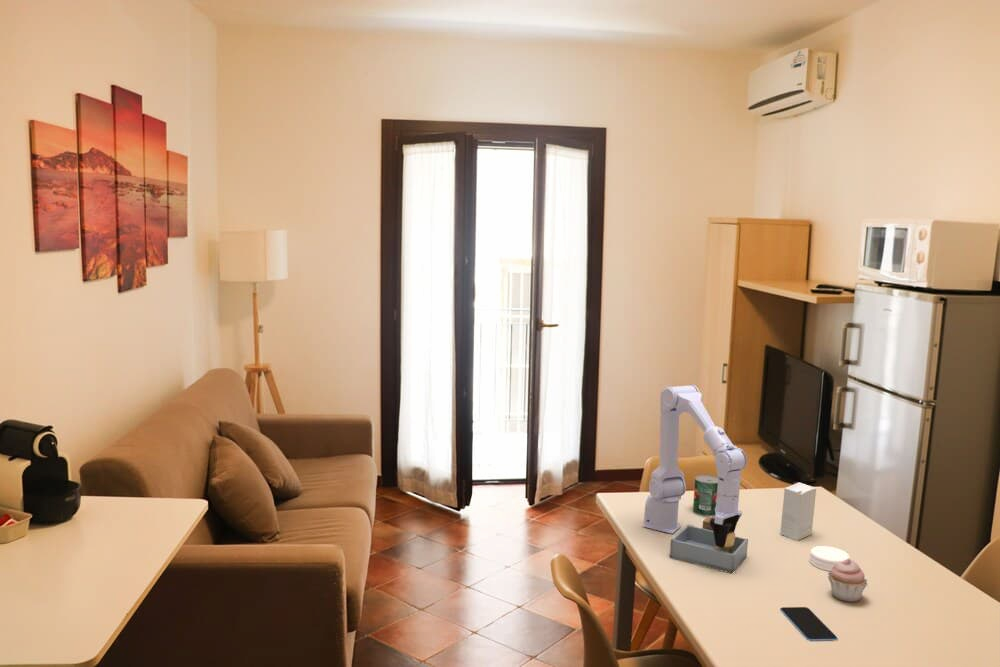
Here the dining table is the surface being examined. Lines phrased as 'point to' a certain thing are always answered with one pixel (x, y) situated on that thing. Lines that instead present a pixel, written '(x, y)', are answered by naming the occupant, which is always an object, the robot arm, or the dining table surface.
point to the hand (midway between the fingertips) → (724, 541)
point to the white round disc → (827, 557)
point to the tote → (706, 549)
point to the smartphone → (808, 624)
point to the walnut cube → (707, 523)
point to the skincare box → (798, 511)
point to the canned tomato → (705, 495)
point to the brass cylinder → (728, 543)
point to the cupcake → (847, 581)
